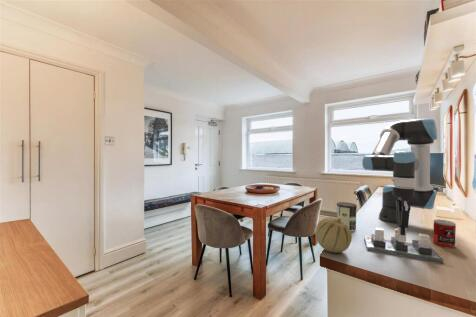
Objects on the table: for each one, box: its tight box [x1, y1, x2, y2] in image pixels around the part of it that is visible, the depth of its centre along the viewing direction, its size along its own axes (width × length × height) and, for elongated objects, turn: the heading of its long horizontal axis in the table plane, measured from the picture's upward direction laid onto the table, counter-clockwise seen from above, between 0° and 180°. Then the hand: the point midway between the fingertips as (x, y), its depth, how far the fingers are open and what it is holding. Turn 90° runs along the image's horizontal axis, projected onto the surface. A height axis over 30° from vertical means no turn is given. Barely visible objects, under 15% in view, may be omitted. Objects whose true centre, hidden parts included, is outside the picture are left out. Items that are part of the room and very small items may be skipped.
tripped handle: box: [394, 228, 398, 241], centre depth 98 cm, size 2×3×5 cm
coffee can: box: [336, 201, 358, 232], centre depth 126 cm, size 10×10×14 cm
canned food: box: [432, 219, 457, 249], centre depth 104 cm, size 8×8×11 cm
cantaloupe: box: [314, 216, 353, 254], centre depth 96 cm, size 15×15×15 cm
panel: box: [363, 227, 444, 264], centre depth 98 cm, size 14×26×9 cm, turn 65°
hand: (401, 241), depth 94 cm, fingers closed
